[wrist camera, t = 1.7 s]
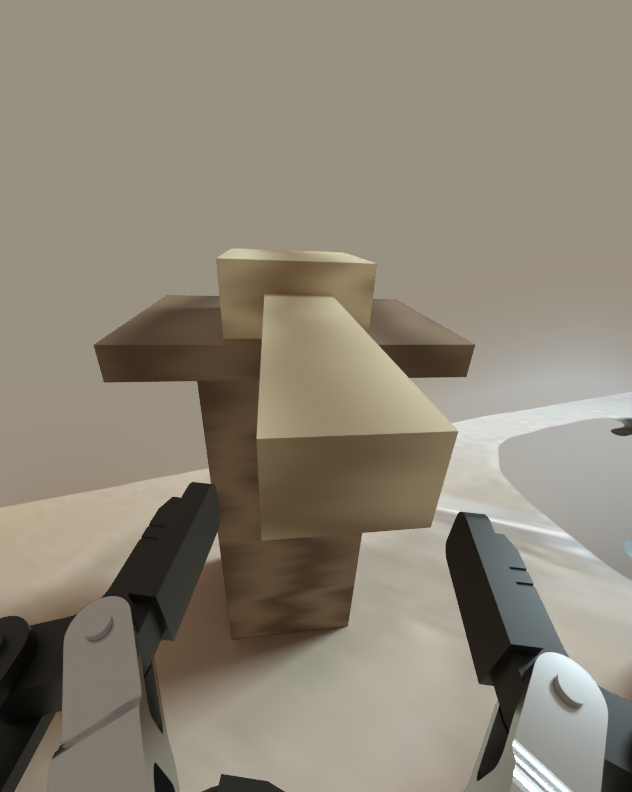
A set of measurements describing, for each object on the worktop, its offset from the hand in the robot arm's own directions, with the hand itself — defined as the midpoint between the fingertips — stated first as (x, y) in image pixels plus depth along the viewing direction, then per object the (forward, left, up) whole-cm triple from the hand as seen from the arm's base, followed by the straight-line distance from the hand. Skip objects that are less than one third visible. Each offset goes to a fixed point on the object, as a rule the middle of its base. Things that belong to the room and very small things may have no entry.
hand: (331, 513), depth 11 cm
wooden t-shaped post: (0, -15, -29) cm, 33 cm away
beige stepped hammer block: (0, -7, +3) cm, 8 cm away
